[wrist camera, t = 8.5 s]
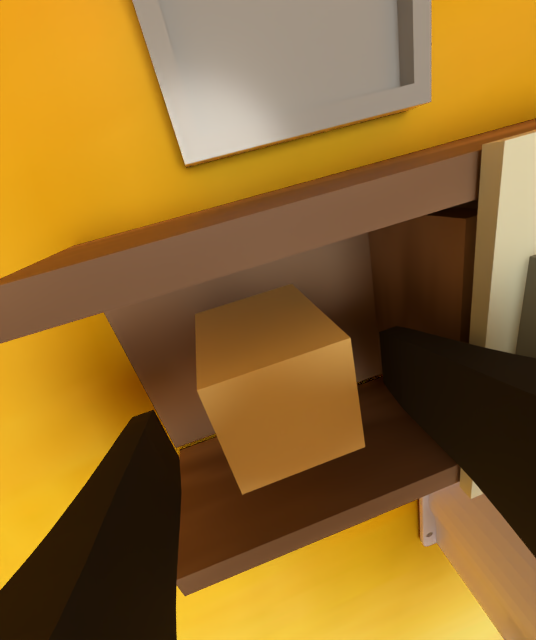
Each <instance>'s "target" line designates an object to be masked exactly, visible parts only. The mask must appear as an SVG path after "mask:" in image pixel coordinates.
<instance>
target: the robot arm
mask: <svg viewBox="0 0 536 640" xmlns="http://www.w3.org/2000/svg"><path fill="white" fill-rule="evenodd" d="M379 338H380V350H381V362H382V374H383V383H384V384H385V386H386V387H387V389H388V390H389V391H390V393H391V394H392V395H393V397H394V398H395V399H396V401H397V402H398V403H399V404H400V406H401V407H402V408H403V409H404V410H405V411H406V412H407V413H408V414H409V415H410V417H411V418H412V419H413V420H414V421H415V422H416V423H417V424H418V425H419V426H420V427H421V428H422V429H423V430H424V431H425V432H426V433H427V434H428V435H429V436H430V437H431V438H432V439H433V440H434V441H435V442H436V443H437V444H438V445H439V446H440V447H441V448H442V449H443V450H444V451H445V452H446V453H447V454H448V455H449V456H450V457H451V458H452V459H453V460H454V461H455V462H456V463H457V464H458V465H459V466H460V467H461V468H462V469H463V471H464V472H465V473H466V474H467V475H468V476H469V477H470V478H471V479H472V480H473V481H474V483H475V484H476V485H477V486H478V487H479V489H480V490H481V491H482V492H483V493H484V494H481V495H479V496H477V497H474V498H472V499H470V498H469V497H468V495H467V494H466V493H465V492H464V491H463V490H462V489H461V488H460V487H459V486H460V482H457V483H455V484H453V485H450V486H448V487H445V488H443V489H441V490H438V491H436V492H433V493H431V494H429V495H426V496H424V497H421V498H419V506H420V540H421V542H422V544H423V545H424V546H430V545H432V544H435V543H437V544H438V545H439V547H440V548H441V550H442V551H443V553H444V554H445V555H446V557H447V558H448V560H449V561H450V563H451V564H452V566H453V567H454V568H455V570H456V571H457V573H458V574H459V576H460V577H461V578H462V580H463V581H464V583H465V584H466V586H467V587H468V588H469V590H470V591H471V593H472V594H473V596H474V597H475V598H476V600H477V601H478V603H479V604H480V606H481V607H482V609H483V610H484V611H485V613H486V614H487V616H488V617H489V619H490V620H491V621H492V623H493V624H494V626H495V627H496V629H497V630H498V631H499V633H500V634H501V636H502V637H503V638H504V640H536V358H532V357H527V356H522V355H517V354H512V353H508V352H503V351H498V350H493V349H489V348H485V347H481V346H476V345H472V344H468V343H464V342H460V341H456V340H453V339H449V338H445V337H441V336H437V335H433V334H430V333H426V332H422V331H418V330H414V329H410V328H405V327H400V326H395V327H392V328H389V329H386V330H383V331H380V332H379ZM181 494H182V491H181V473H180V460H179V456H178V454H177V453H176V451H175V449H174V447H173V445H172V443H171V441H170V440H169V438H168V436H167V434H166V432H165V430H164V428H163V427H162V425H161V423H160V421H159V419H158V417H157V415H156V414H155V412H154V410H152V411H149V412H146V413H143V414H140V415H138V416H135V417H132V419H131V420H130V421H129V423H128V424H127V425H126V427H125V428H124V430H123V431H122V432H121V434H120V435H119V437H118V438H117V440H116V441H115V443H114V444H113V446H112V447H111V448H110V450H109V451H108V453H107V454H106V456H105V457H104V459H103V460H102V461H101V463H100V464H99V466H98V467H97V469H96V470H95V471H94V473H93V474H92V476H91V477H90V479H89V480H88V481H87V483H86V484H85V486H84V487H83V488H82V490H81V491H80V492H79V494H78V495H77V496H76V498H75V499H74V500H73V501H72V503H71V504H70V505H69V507H68V508H67V509H66V511H65V512H64V513H63V515H62V516H61V517H60V519H59V520H58V521H57V523H56V524H55V525H54V527H53V528H52V529H51V531H50V532H49V533H48V534H47V536H46V537H45V538H44V539H43V541H42V542H41V543H40V544H39V545H38V547H37V548H36V549H35V550H34V552H33V553H32V554H31V555H30V556H29V558H28V559H27V560H26V561H25V562H24V563H23V565H22V566H21V567H20V568H19V569H18V570H17V572H16V573H15V574H14V575H13V576H12V577H11V579H10V580H9V581H8V582H7V583H6V585H5V586H4V587H3V588H2V589H1V590H0V640H177V636H176V582H177V565H178V549H179V532H180V515H181Z"/></svg>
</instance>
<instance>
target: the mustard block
mask: <svg viewBox="0 0 536 640" xmlns="http://www.w3.org/2000/svg"><path fill="white" fill-rule="evenodd" d="M195 334H196V377H197V392H198V394H199V397H200V399H201V401H202V404H203V406H204V408H205V410H206V413H207V415H208V417H209V420H210V422H211V424H212V426H213V429H214V431H215V433H216V436H217V438H218V440H219V443H220V445H221V447H222V449H223V452H224V454H225V456H226V459H227V461H228V463H229V465H230V468H231V470H232V472H233V475H234V477H235V479H236V482H237V484H238V486H239V488H240V491H241V493H242V495H243V494H245V493H248V492H250V491H253V490H256V489H258V488H261V487H263V486H266V485H268V484H271V483H274V482H276V481H279V480H281V479H284V478H286V477H289V476H292V475H294V474H297V473H299V472H302V471H305V470H307V469H310V468H312V467H315V466H317V465H320V464H323V463H325V462H328V461H330V460H333V459H335V458H338V457H341V456H343V455H346V454H348V453H351V452H354V451H356V450H359V449H361V448H364V447H365V441H364V433H363V426H362V419H361V411H360V404H359V396H358V389H357V382H356V374H355V367H354V359H353V352H352V345H351V338H350V337H349V336H348V335H347V334H346V333H345V332H344V331H343V330H342V329H340V328H339V327H338V326H337V325H336V324H335V323H334V322H333V321H332V320H331V319H330V318H328V317H327V316H326V315H325V314H324V313H323V312H322V311H321V310H320V309H319V308H318V307H316V306H315V305H314V304H313V303H312V302H311V301H310V300H309V299H308V298H307V297H306V296H304V295H303V294H302V293H301V292H300V291H299V290H298V289H297V288H296V287H295V286H294V285H292V284H289V285H286V286H283V287H280V288H277V289H273V290H270V291H267V292H264V293H261V294H257V295H254V296H251V297H248V298H245V299H241V300H238V301H235V302H232V303H229V304H225V305H222V306H219V307H216V308H213V309H210V310H206V311H203V312H200V313H197V314H195Z"/></svg>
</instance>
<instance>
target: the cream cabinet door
mask: <svg viewBox="0 0 536 640" xmlns="http://www.w3.org/2000/svg"><path fill="white" fill-rule="evenodd" d="M469 344H472V345H476V346H481V347H485V348H489V349H493V350H498V351H503V352H508V353H512V354H517V355H522V356H527V357H532V358H536V130H532V131H529V132H525V133H522V134H518V135H515V136H511V137H507V138H504V139H500V140H497V141H493V142H490V143H486V144H482V155H481V170H480V185H479V200H478V215H477V231H476V246H475V261H474V276H473V291H472V306H471V321H470V336H469ZM459 487H460V488H461V489H462V490H463V491H464V492H465V493H466V494H467V495H468V497H469V498H470V499H472V498H474V497H477V496H479V495H481V494H484V493H483V492H482V491H481V490H480V489H479V487H478V486H477V485H476V484H475V483H474V481H473V480H472V479H471V478H470V477H469V476H468V475H467V474H466V473H465V472H464V471H463V469H462V468H461V471H460V486H459Z"/></svg>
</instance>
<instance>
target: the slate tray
mask: <svg viewBox="0 0 536 640" xmlns="http://www.w3.org/2000/svg"><path fill="white" fill-rule="evenodd" d="M132 2H133V5H134V8H135V11H136V14H137V17H138V20H139V23H140V27H141V30H142V33H143V36H144V39H145V42H146V45H147V48H148V51H149V54H150V58H151V61H152V64H153V67H154V70H155V73H156V76H157V79H158V82H159V86H160V89H161V92H162V95H163V98H164V101H165V104H166V107H167V110H168V113H169V117H170V120H171V123H172V126H173V129H174V132H175V135H176V138H177V141H178V144H179V148H180V151H181V154H182V157H183V160H184V163H185V166H186V168H187V167H191V166H194V165H198V164H202V163H206V162H210V161H214V160H218V159H222V158H226V157H229V156H233V155H237V154H241V153H245V152H249V151H253V150H257V149H260V148H264V147H268V146H272V145H276V144H280V143H284V142H288V141H291V140H295V139H299V138H303V137H307V136H311V135H315V134H319V133H322V132H326V131H330V130H334V129H338V128H342V127H346V126H350V125H353V124H357V123H361V122H365V121H369V120H373V119H377V118H381V117H385V116H388V115H392V114H396V113H400V112H404V111H408V110H410V109H413V108H416V107H418V106H421V105H423V104H426V103H429V102H431V0H132Z"/></svg>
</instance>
